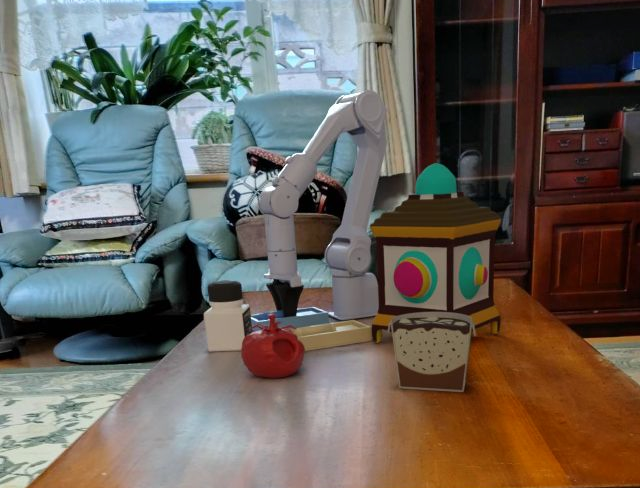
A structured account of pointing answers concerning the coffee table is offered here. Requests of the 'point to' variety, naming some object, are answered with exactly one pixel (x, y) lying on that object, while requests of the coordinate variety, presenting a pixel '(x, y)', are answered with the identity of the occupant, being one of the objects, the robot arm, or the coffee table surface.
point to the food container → (432, 350)
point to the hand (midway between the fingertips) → (287, 318)
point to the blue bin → (295, 319)
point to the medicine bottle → (226, 316)
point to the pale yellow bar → (320, 329)
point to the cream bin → (337, 336)
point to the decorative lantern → (436, 254)
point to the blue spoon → (279, 314)
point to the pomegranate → (272, 351)
